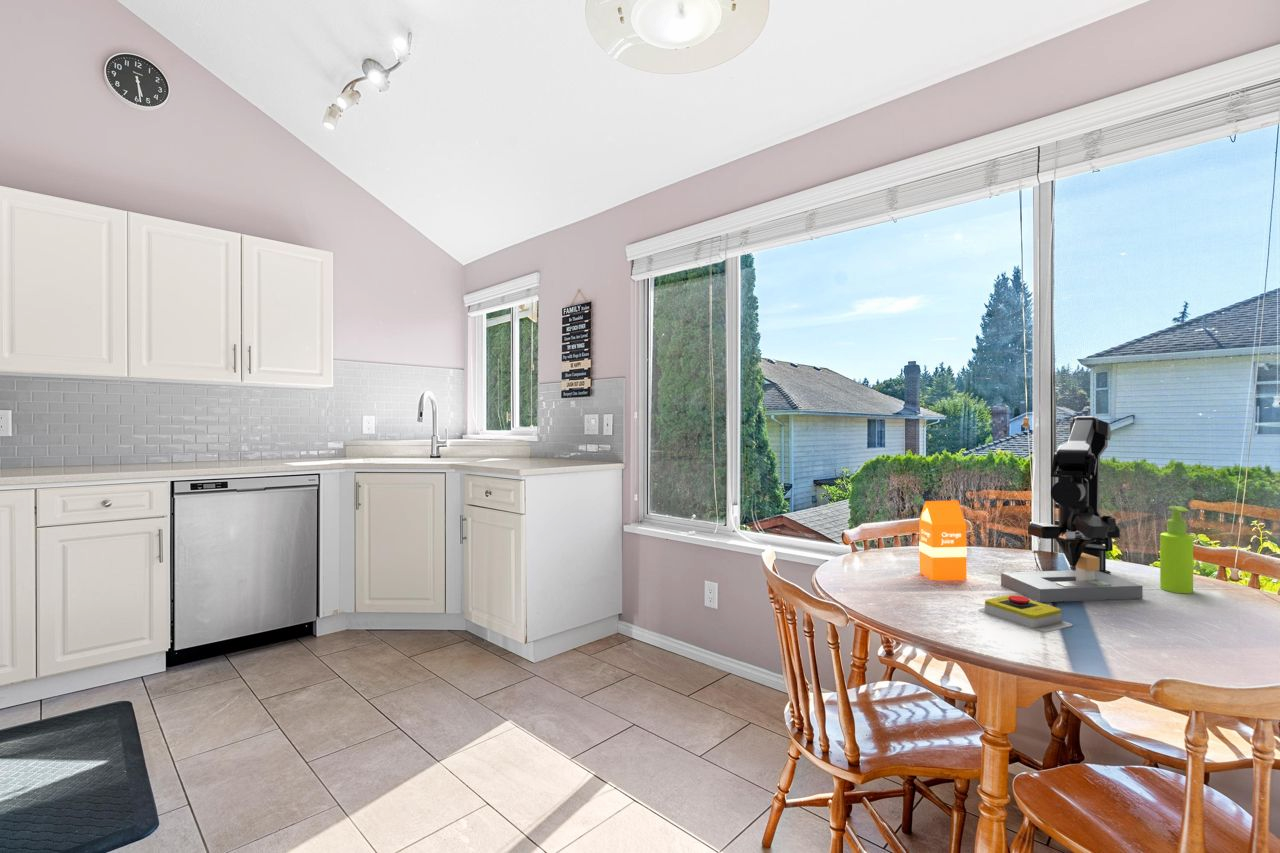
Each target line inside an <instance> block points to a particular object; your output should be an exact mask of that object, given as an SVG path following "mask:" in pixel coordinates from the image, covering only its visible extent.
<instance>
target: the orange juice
mask: <svg viewBox="0 0 1280 853" xmlns="http://www.w3.org/2000/svg"><path fill="white" fill-rule="evenodd" d="M918 522H919V524H918V525H919V526H918V528H919V529H918V531H919V532H918V533H919V534H918V537H919V542H918V543H919V544H918V547H919V548H918V551H919V574H921V575H923V576H924V577H926V578H928V579H929V580H931V581H933V580H937V581H967V576H968V575H967V573H968V572H967V570H968V569H967V554H968V553H967V551H968V550H967V523H966V520H965V518H964V514H963V511H962V508H961V505H960V502H959V500H925V501H924V505H923V508H922V511H921V513H920V516H919V520H918Z"/></svg>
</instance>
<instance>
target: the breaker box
mask: <svg viewBox="0 0 1280 853" xmlns="http://www.w3.org/2000/svg"><path fill="white" fill-rule="evenodd" d="M1000 584H1001V585H1000V586H1003V587H1005V588H1008V589H1009V590H1012V591H1015V592H1016V593H1019V594H1021V595H1022V596H1024V597H1026V598H1029V597H1030V598H1029V599H1031V600H1033V601H1036V600H1037V601H1036V602H1038V601H1039V603H1053V602H1054V603H1055V602H1056V603H1059V601H1060V602H1062V601H1064V602H1085V601H1087V602H1088V601H1089V600H1092V601H1108V600H1107V599H1121V600H1135V599H1134V598H1144V597H1143V595H1144V594H1143V593H1144V592H1143V587H1144V586H1143V585H1142V584H1140V583H1139V584H1138V583H1136V582H1132V581H1129V580H1126V579H1123V578H1121V577H1117V576H1114V575H1111V574H1110V573H1109V574H1106V573H1103V572H1100V571H1095V580H1090V581H1076V570H1074V569H1071V570H1069V569H1068V570H1045V571H1044V570H1043V571H1042V570H1041V571H1019V572H1018V571H1016V572H1015V571H1009V572H1000ZM1105 599H1106V600H1105ZM1089 602H1090V601H1089Z"/></svg>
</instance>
